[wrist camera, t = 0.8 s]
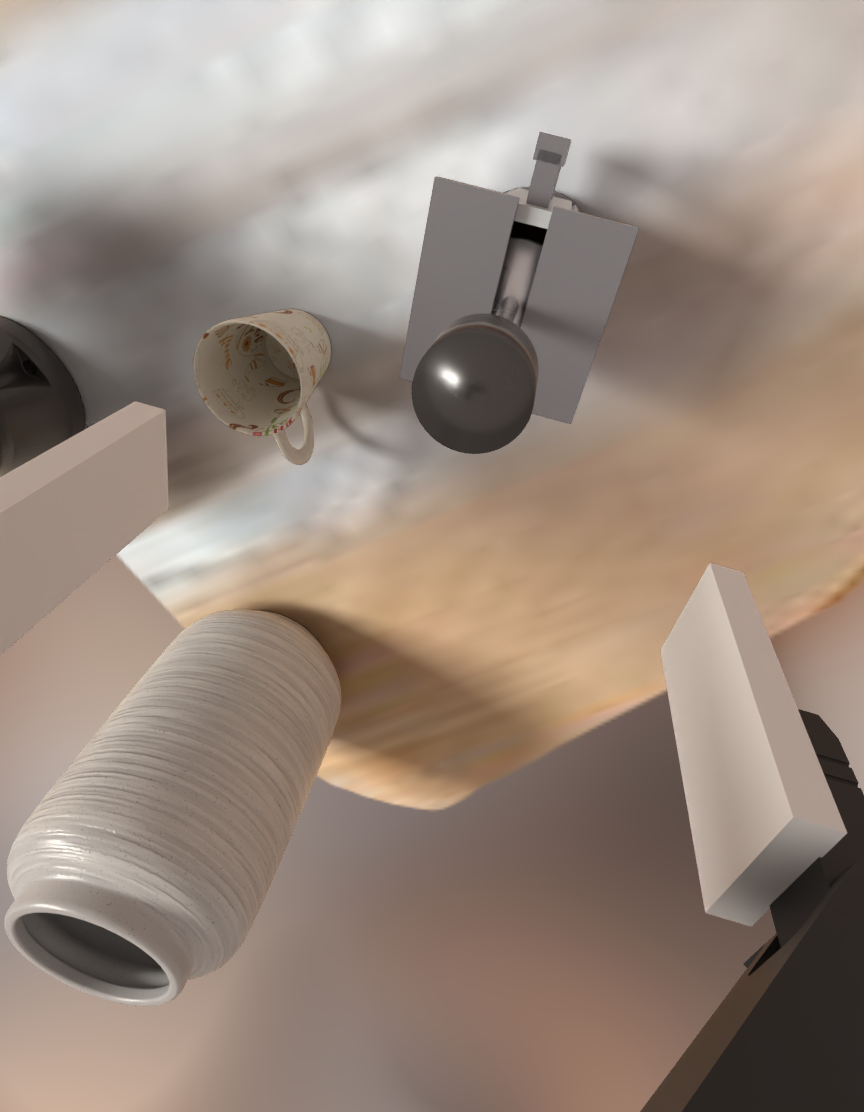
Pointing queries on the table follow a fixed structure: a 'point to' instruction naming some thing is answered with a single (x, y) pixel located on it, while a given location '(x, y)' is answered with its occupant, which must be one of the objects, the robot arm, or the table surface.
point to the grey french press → (559, 283)
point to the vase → (176, 812)
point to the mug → (264, 374)
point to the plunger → (483, 367)
